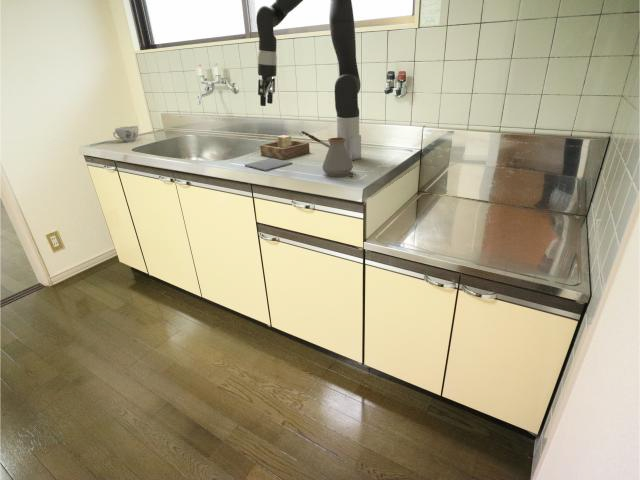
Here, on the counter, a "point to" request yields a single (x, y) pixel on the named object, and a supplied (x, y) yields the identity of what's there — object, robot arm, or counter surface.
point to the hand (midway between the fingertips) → (266, 104)
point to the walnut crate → (285, 150)
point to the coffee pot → (335, 157)
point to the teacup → (127, 133)
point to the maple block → (284, 141)
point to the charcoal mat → (268, 164)
